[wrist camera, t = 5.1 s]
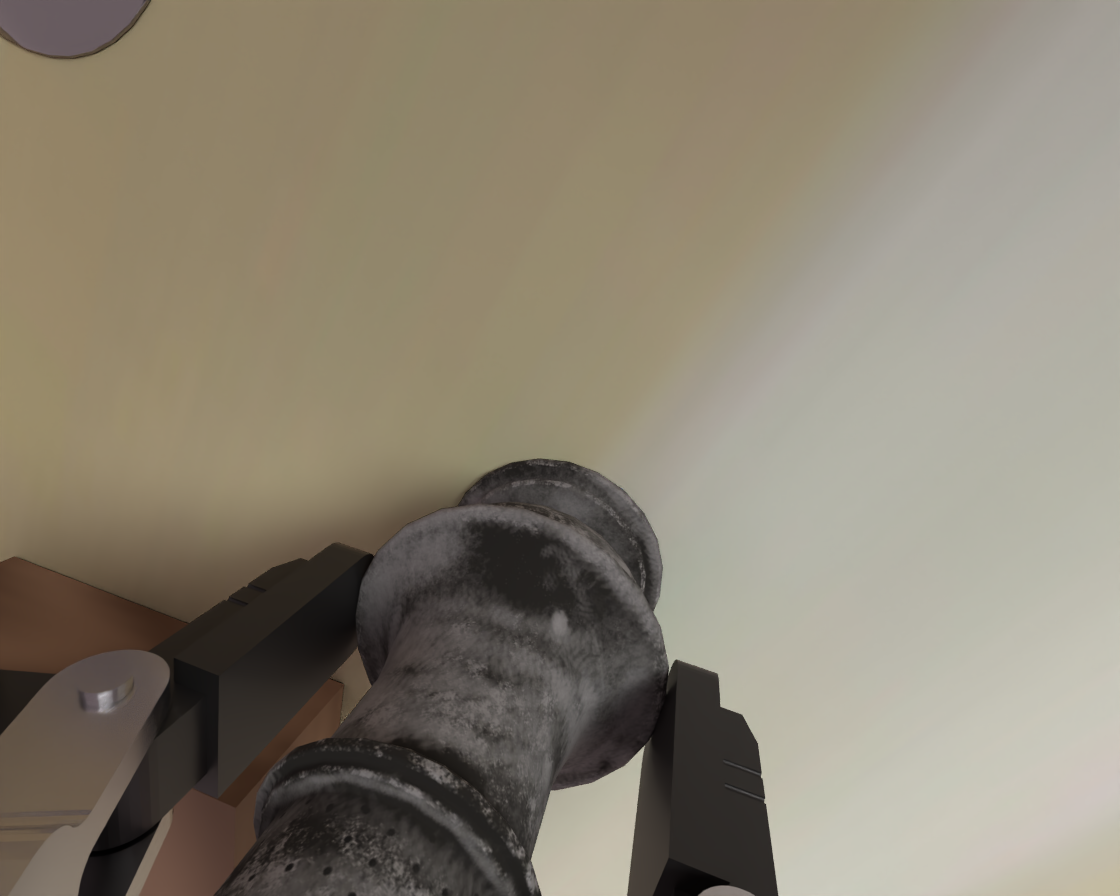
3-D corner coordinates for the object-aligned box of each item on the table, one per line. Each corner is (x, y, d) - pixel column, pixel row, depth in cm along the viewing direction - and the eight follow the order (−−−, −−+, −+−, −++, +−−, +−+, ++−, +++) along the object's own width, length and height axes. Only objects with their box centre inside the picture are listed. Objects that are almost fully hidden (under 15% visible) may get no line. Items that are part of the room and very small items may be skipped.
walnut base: (343, 684, 16) (235, 808, 12) (316, 940, 20) (227, 1092, 16) (14, 556, 18) (-168, 629, 14) (49, 814, 22) (-86, 925, 18)
